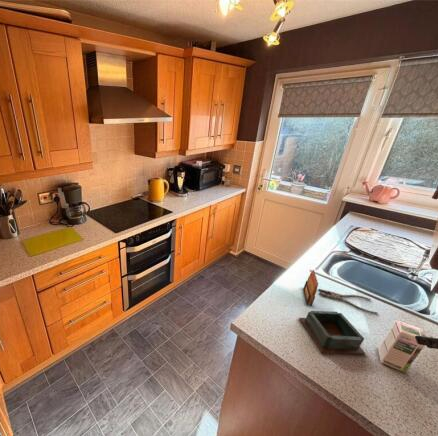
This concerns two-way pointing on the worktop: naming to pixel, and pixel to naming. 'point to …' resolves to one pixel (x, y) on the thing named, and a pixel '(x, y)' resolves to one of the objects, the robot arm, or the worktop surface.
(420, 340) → the robot arm
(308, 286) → the orange brown flat panel
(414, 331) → the syrup box
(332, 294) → the pliers
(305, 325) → the holder
